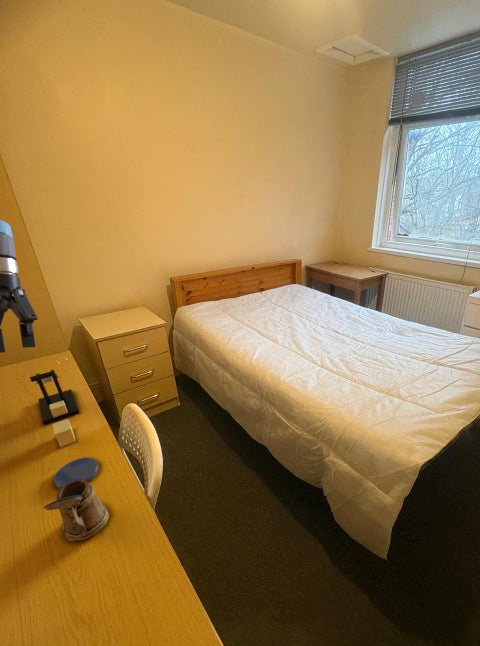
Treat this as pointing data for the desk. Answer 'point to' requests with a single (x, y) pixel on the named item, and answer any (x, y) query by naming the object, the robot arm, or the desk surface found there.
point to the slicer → (60, 396)
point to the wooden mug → (79, 510)
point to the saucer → (76, 471)
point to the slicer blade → (44, 377)
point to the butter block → (63, 432)
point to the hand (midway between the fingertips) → (13, 350)
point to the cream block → (58, 408)
